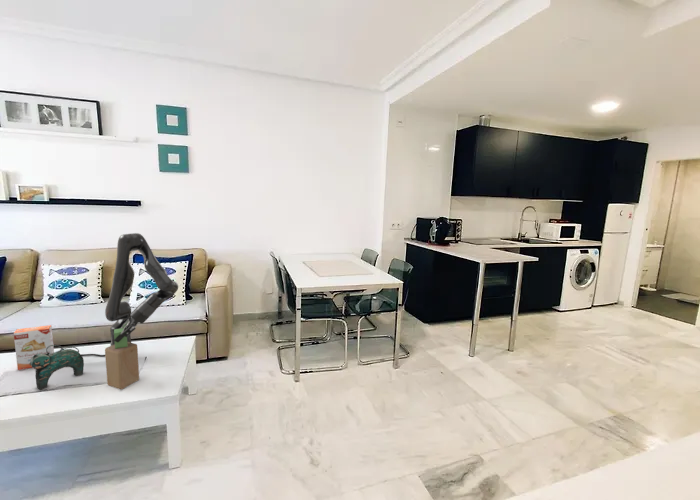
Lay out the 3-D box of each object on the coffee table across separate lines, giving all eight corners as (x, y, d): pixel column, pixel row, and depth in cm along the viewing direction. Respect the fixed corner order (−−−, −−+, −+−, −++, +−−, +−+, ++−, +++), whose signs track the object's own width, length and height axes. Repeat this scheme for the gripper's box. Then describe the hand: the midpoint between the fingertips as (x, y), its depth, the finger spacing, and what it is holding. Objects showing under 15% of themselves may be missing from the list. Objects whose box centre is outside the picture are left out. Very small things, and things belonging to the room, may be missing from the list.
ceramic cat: (35, 392, 155) (31, 353, 151) (30, 388, 158) (26, 349, 155) (86, 374, 171) (83, 338, 168) (80, 370, 175) (77, 335, 171)
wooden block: (140, 380, 169) (138, 343, 166) (121, 390, 159) (118, 352, 156) (126, 375, 172) (123, 339, 169) (106, 385, 163) (103, 348, 159)
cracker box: (17, 371, 171) (12, 333, 168) (20, 365, 176) (16, 328, 173) (53, 364, 179) (49, 328, 176) (55, 359, 184) (51, 324, 181)
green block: (115, 344, 163) (114, 329, 162) (127, 342, 166) (126, 327, 165) (115, 348, 159) (114, 333, 158) (127, 346, 162) (126, 331, 161)
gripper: (136, 303, 169) (109, 329, 164) (137, 311, 158) (108, 340, 153) (148, 311, 173) (122, 337, 168) (151, 320, 162) (123, 348, 157)
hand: (116, 338), depth 161 cm, fingers closed on green block, 5 cm apart
